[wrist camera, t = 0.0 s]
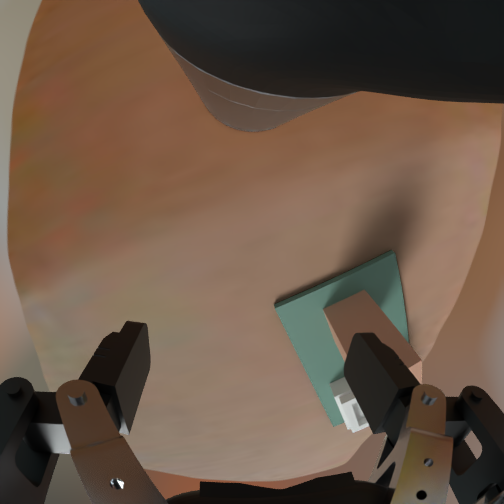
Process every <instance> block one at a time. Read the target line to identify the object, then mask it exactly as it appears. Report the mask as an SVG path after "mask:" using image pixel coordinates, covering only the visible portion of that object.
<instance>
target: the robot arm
mask: <svg viewBox="0 0 504 504" xmlns="http://www.w3.org/2000/svg"><path fill="white" fill-rule="evenodd" d="M138 1H139V3H140V5H141V7H142V8H143V10H144V12H145V14H146V15H147V17H148V18H149V20H150V21H151V23H152V24H153V26H154V27H155V28H156V30H157V31H158V33H159V35H160V36H161V38H162V39H163V41H164V42H165V44H166V45H167V47H168V48H169V50H170V51H171V53H172V54H173V56H174V57H175V59H176V60H177V61H178V63H179V65H180V66H181V68H182V69H183V71H184V72H185V74H186V75H187V77H188V79H189V80H190V82H191V83H192V85H193V87H194V88H195V90H196V91H197V93H198V95H199V96H200V98H201V100H202V101H203V102H204V104H205V106H206V107H207V109H208V110H209V112H210V113H211V114H212V115H213V116H214V117H215V118H216V119H217V120H219V121H220V122H222V123H223V124H225V125H226V126H229V127H231V128H234V129H236V130H242V131H247V132H259V131H264V130H269V129H273V128H276V127H277V126H279V125H281V124H284V123H286V122H288V121H290V120H293V119H295V118H297V117H299V116H301V115H304V114H306V113H308V112H310V111H313V110H315V109H317V108H319V107H322V106H324V105H326V104H328V103H331V102H333V101H336V100H338V99H341V98H343V97H346V96H348V95H351V94H353V93H356V92H358V91H368V92H376V93H383V94H390V95H397V96H404V97H411V98H419V99H427V100H438V101H452V102H477V103H503V104H504V0H138ZM149 370H150V348H149V338H148V327H147V324H146V323H140V322H132V321H126V323H125V324H124V326H123V328H122V329H121V331H120V333H118V332H112V333H111V334H109V335H108V336H106V337H105V338H103V340H102V342H101V343H100V345H99V346H98V348H97V349H96V351H95V353H94V356H92V357H91V359H90V361H89V362H88V364H87V366H86V367H85V369H84V371H83V372H82V374H81V376H80V377H79V379H78V380H72V381H68V382H66V383H64V384H63V385H61V386H60V387H59V388H58V390H57V392H36V391H34V389H33V386H32V384H31V383H30V382H29V381H28V380H27V379H24V378H21V377H14V378H10V379H7V380H5V381H4V382H3V383H2V384H1V385H0V504H44V502H45V498H46V495H47V491H48V488H49V484H50V481H51V478H52V475H53V472H54V469H55V466H56V463H57V460H58V457H59V454H60V453H63V454H71V457H72V460H73V462H74V465H75V467H76V470H77V472H78V474H79V476H80V479H81V481H82V483H83V485H84V488H85V490H86V492H87V494H88V496H89V498H90V500H91V502H92V504H445V503H446V498H447V492H448V486H449V484H450V486H451V488H452V490H453V492H454V494H455V496H456V498H457V500H458V502H459V504H504V413H503V412H502V411H501V410H500V408H499V407H498V406H497V405H496V404H495V402H494V401H493V400H492V399H491V398H490V396H489V395H488V394H487V393H486V392H485V391H484V390H483V389H481V388H479V387H477V386H466V387H465V388H464V389H463V390H462V392H461V394H460V395H459V397H445V395H444V393H443V392H442V391H441V390H440V389H438V388H437V387H435V386H432V385H428V384H420V383H419V381H418V380H417V379H416V377H415V376H414V375H413V374H412V372H411V371H410V370H409V369H408V367H407V366H406V365H404V362H403V361H402V360H401V359H399V356H398V355H397V354H396V352H395V351H394V350H393V349H391V348H390V347H389V346H387V345H386V344H384V343H382V342H381V341H380V339H379V338H378V337H377V336H376V335H375V333H373V332H366V333H355V334H354V336H353V338H352V341H351V344H350V347H349V351H348V354H347V357H346V360H345V363H344V376H345V379H346V381H347V383H348V385H349V387H350V389H351V391H352V392H353V394H354V396H355V398H356V400H357V402H358V404H359V406H360V408H361V410H362V412H363V414H364V416H365V418H366V420H367V422H368V424H369V426H370V428H371V430H372V432H373V434H378V433H382V432H386V434H387V436H386V437H385V439H384V441H383V444H382V447H381V450H380V453H379V456H378V458H377V461H376V463H375V466H374V469H373V471H372V474H371V476H370V478H369V480H368V481H359V480H354V477H353V475H352V472H347V473H342V474H337V475H331V476H325V477H318V478H315V479H313V480H310V481H307V482H304V483H301V484H298V485H295V486H292V487H289V488H286V489H272V488H265V487H259V486H252V485H248V484H242V483H218V482H200V490H197V491H190V492H186V493H182V494H179V495H176V496H173V497H171V498H168V499H167V500H165V499H164V497H163V496H162V495H161V493H160V492H159V491H158V489H157V488H156V486H155V485H154V484H153V482H152V481H151V479H150V478H149V476H148V475H147V474H146V472H145V471H144V469H143V468H142V466H141V464H140V463H139V461H138V460H137V458H136V457H135V455H134V453H133V452H132V450H131V448H130V447H129V445H128V443H127V442H126V440H125V438H124V437H123V436H121V435H120V434H119V433H123V434H128V435H129V434H130V430H131V427H132V424H133V420H134V417H135V414H136V411H137V407H138V404H139V401H140V398H141V395H142V392H143V389H144V386H145V382H146V379H147V376H148V373H149ZM471 430H472V431H473V433H474V434H475V435H476V437H477V439H478V440H479V441H480V443H481V445H482V453H481V456H480V457H479V458H478V459H476V458H475V456H474V454H473V453H472V451H471V450H470V448H469V446H468V445H467V443H466V442H465V440H464V439H465V438H466V436H467V435H468V434H469V433H470V431H471Z"/></svg>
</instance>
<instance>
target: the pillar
mask: <svg viewBox="0 0 504 504" xmlns="http://www.w3.org/2000/svg"><path fill="white" fill-rule="evenodd" d="M323 311H324V314H325V317H326V319H327V322H328V325H329V328H330V330H331V333H332V336H333V339H334V341H335V343H336V345H337V347H338V349H339V351H340V354H341V356H342V358H343V360H344V362H345V360H346V357H347V354H348V351H349V347H350V344H351V341H352V338H353V336H354V334H355V333H366V332H373V333H375V335H376V336H377V337H378V338H379V339H380V341H381V342H382V343H384V344H386V345H387V346H389V347H390V348H391V349H393V350H394V351H395V352H396V354H397V355H398V356H399V359H401V360H402V361H403V362H404V365H406V366H407V367H408V369H409V370H410V371H411V372H412V374H413V375H414V376H415V377H416V379H417V380H418V381H419V383H420V384H422V360H421V359H420V357H419V356H418V355H417V354H416V352H415V351H414V350H413V348H412V347H411V346H410V344H409V343H408V342H407V341H406V339H405V338H404V337H403V336H402V334H401V333H400V332H399V331H398V329H397V328H396V327H395V326H394V324H393V323H392V322H391V321H390V319H389V318H388V317H387V316H386V315H385V313H384V312H383V311H382V310H381V309H380V307H379V306H378V305H377V304H376V303H375V301H374V300H373V299H372V298H371V297H370V295H369V294H368V293H367V292H366V291H365V290H362V291H360V292H358V293H356V294H354V295H352V296H350V297H348V298H346V299H344V300H342V301H339V302H337V303H335V304H333V305H331V306H329V307H326V308H324V309H323Z"/></svg>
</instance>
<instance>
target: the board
mask: <svg viewBox="0 0 504 504" xmlns="http://www.w3.org/2000/svg"><path fill="white" fill-rule="evenodd" d="M362 290H365V291H366V292H367V293H368V294H369V295H370V297H371V298H372V299H373V300H374V301H375V303H376V304H377V305H378V306H379V307H380V309H381V310H382V311H383V312H384V313H385V315H386V316H387V317H388V318H389V319H390V321H391V322H392V323H393V324H394V326H395V327H396V328H397V329H398V331H399V332H400V333H401V334H402V336H403V337H404V338H405V339H406V341H407V342H408V343H409V339H408V330H407V321H406V314H405V306H404V300H403V293H402V287H401V281H400V276H399V270H398V265H397V260H396V255H395V252H393V251H392V250H390V251H388V252H386V253H384V254H382V255H380V256H378V257H376V258H374V259H372V260H370V261H368V262H366V263H364V264H362V265H360V266H358V267H356V268H354V269H352V270H350V271H347V272H345V273H343V274H341V275H339V276H337V277H335V278H333V279H330V280H328V281H326V282H324V283H322V284H319V285H317V286H315V287H313V288H311V289H308V290H306V291H304V292H302V293H299V294H297V295H295V296H292V297H290V298H288V299H286V300H283V301H281V302H279V303H276V304H274V307H275V310H276V312H277V314H278V316H279V318H280V320H281V322H282V324H283V326H284V328H285V330H286V332H287V334H288V336H289V338H290V340H291V342H292V344H293V346H294V348H295V350H296V352H297V354H298V356H299V358H300V360H301V362H302V364H303V366H304V368H305V371H306V373H307V375H308V377H309V379H310V381H311V383H312V385H313V387H314V389H315V391H316V393H317V395H318V397H319V399H320V401H321V403H322V405H323V407H324V409H325V411H326V413H327V415H328V417H329V419H330V421H331V423H332V425H333V427H334V426H337V425H339V424H342V423H344V422H345V424H346V426H347V429H351V430H352V433H354V432H356V431H359V430H361V429H363V428H365V427H368V426H369V424H368V422H367V420H366V418H365V416H364V414H363V412H362V410H361V408H360V406H359V404H358V402H357V400H356V398H355V396H354V394H353V392H352V391H351V389H350V387H349V385H348V383H347V381H346V379H345V376H344V363H345V362H344V360H343V358H342V356H341V354H340V351H339V349H338V347H337V345H336V343H335V341H334V339H333V336H332V333H331V330H330V328H329V325H328V322H327V319H326V317H325V314H324V311H323V309H324V308H326V307H329V306H331V305H333V304H335V303H337V302H339V301H342V300H344V299H346V298H348V297H350V296H352V295H354V294H356V293H358V292H360V291H362Z"/></svg>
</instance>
